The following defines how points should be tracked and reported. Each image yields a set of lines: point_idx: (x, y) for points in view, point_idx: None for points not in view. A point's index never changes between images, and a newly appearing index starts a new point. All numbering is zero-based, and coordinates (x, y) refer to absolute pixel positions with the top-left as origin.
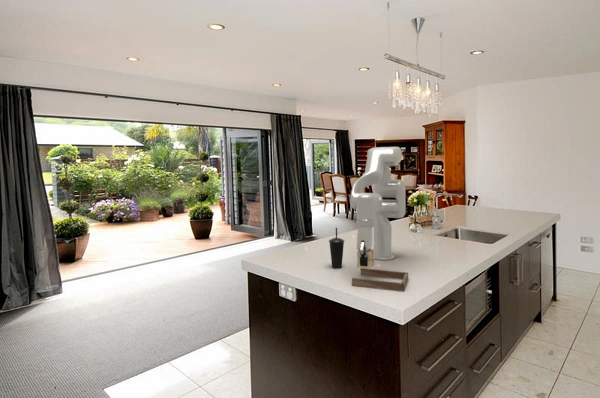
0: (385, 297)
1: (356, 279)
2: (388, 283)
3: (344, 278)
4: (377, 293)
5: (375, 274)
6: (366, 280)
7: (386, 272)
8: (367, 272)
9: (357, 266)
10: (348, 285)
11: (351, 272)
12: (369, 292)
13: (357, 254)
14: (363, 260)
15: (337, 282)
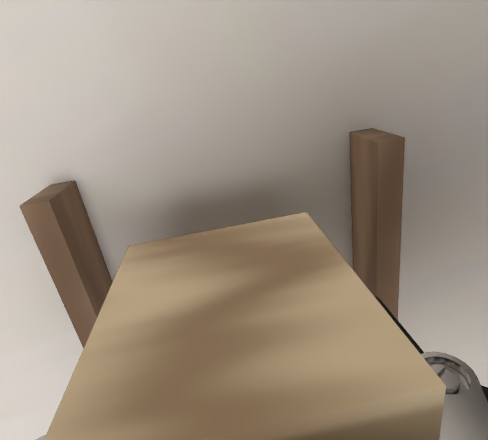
0: (4, 428)
1: (39, 245)
2: None
3: (194, 27)
4: (31, 378)
5: (361, 258)
6: (72, 322)
7: None
8: (364, 202)
9: (127, 255)
10: (34, 155)
11: (409, 10)
12: (11, 339)
13: (64, 403)
14: None
15: (36, 14)
